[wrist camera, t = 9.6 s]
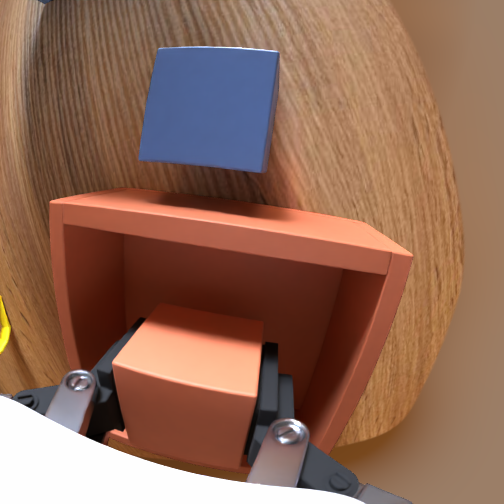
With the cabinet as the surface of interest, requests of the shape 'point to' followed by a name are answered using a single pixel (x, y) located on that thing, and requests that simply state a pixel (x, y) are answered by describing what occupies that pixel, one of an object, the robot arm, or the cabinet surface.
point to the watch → (4, 328)
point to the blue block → (211, 107)
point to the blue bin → (45, 1)
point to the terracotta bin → (232, 286)
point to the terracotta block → (190, 384)
